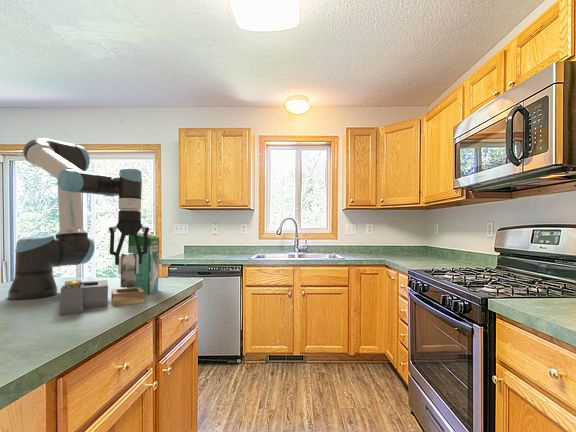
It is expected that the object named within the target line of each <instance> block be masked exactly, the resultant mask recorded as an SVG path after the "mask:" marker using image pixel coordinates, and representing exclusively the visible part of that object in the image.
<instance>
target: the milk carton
mask: <svg viewBox="0 0 576 432" xmlns="http://www.w3.org/2000/svg"><path fill="white" fill-rule="evenodd" d="M143 233H144V232H138V233H137V235H138V240H139V243H140V247H141V251H143ZM127 243H128V245H127V246H128V247H127V253H136V255H138V252H137V248H136V245H135V241H134V237H133V236H132V235H128V242H127ZM159 261H160V237H158V236H157V237H156V236H155V235H154V234H153V233H150V232H148V236H147V253H146V254H143V255H142V263H141V264H139V268H138V273H137V274H136V286H134V287H128V288H135V287H141V288H142V289H143V291H144V296H145V295H150V294H153V293H155V292H157V291H159V271H160V269H159V267H160V265H159V264H160V262H159Z"/></svg>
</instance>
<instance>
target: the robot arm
mask: <svg viewBox="0 0 576 432" xmlns="http://www.w3.org/2000/svg"><path fill="white" fill-rule="evenodd" d="M22 154H23V157H24V158H25V160H26V161H27V162H29V164H30V165H32V166H34V167H37V168H41V169H42V170H44V171H45V172H46V173H48V174H49V175H50V176H52V177H53V178H54V179H56V180H57V202H58V203H57V204H58V222H59V223H58V224H59V231H57V233H56V234H55V236H54V234H53V235H52V234H45V235H34V236H33V235H32V236H26V237H22V238H18V239H17V241H16V248H15V251H14V252H15V267H14V268H15V269H14V278H13V280H12V283H11V285H10V287H9V289H8V293H7V298H8V299H11V300H31V299H40V298H46V297H51V296H54V295H56V294H58V285H57V283H56V279H55V278H54V273H53V272H54V271H53V269H54V267H65V266H78V265H83V264H87V263H88V262H89V261H91V260H92V258H93V256H94V253H95V248H96V247H95V241H94V240H93V239H92V238H91V237H89V236H88V232H87V231H86V230H85V229H84V217H83V216H84V215H83V214H84V213H83V197H82V194H89V195H90V194H93V195H102V196H105V197H116V196H118V210H119V211H118V216H117V219H118V220H117V224H116V225H115V226H110V227H108V231H109V233H110V236H109V238H110V239H109V255H111V256H114V265H115V266H118V267H117V268H118V271H117V273H118V275H120V276H121V254H120V253H121V250H122V247H123V244H124V241H125V239H126V237H127V236H128V237H129V235H132V236H133V237H134V241H135V245H136V248H137V252H138V255H136V274H137V273H138V268H139V264H141V263H142V255H143V254H146V253H147V236H148V233H149V231H150V228H149V227H147V226H143V225H142V222H141V221H142V212H141V210H142V191H143V190H142V189H143V188H142V185H143V179H142V178H143V175H142V171H141V170H139V169H137V168H133V167H130V168H129V167H122V168H121V169H120V170H119V173H118V175H116V176H115V175H108V174H99V173H94V172H89V171H88V172H87V170H88V169H89V167H90V162H91V161H90V159H91V158H90V154H89V152H88V150H87V149H86V148H85V147H83V146H82V145H77V144H75V143H69V142H64V141H60V140H55V139H50V138H46V137H42V138H34V139H32V140H29V141H28V142H27V143H26V144H25V145H24V146H23V150H22ZM117 230H118V231H119V232H120V238H119V241H118V245H117V247H116V251H115V233H116V232H117ZM140 231H142V232H141V233H143V251H141V247H140V243H139V240H138V235H137V233H140Z"/></svg>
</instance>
